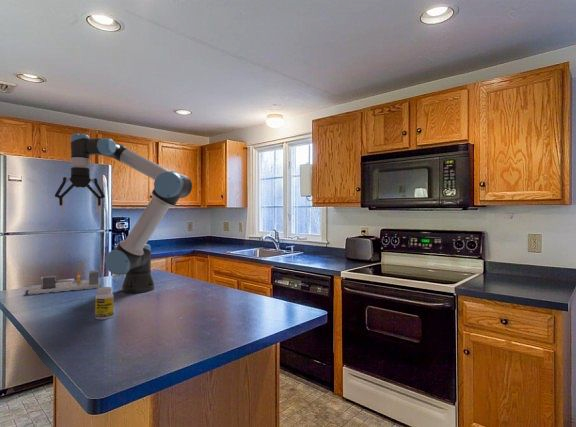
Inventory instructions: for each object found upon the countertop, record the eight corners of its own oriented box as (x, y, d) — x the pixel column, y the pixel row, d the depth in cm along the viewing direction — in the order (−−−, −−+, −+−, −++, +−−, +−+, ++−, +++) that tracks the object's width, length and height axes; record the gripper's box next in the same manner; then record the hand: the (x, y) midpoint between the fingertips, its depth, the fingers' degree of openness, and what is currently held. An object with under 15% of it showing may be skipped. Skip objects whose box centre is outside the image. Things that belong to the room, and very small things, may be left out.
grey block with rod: (74, 281, 185) (74, 272, 185) (74, 285, 177) (74, 275, 177) (42, 284, 178) (42, 274, 178) (40, 288, 170) (40, 278, 169)
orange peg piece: (80, 280, 187) (80, 271, 187) (80, 281, 185) (80, 271, 184) (76, 280, 186) (76, 271, 186) (77, 281, 184) (77, 272, 184)
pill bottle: (94, 320, 129) (94, 290, 129) (95, 316, 134) (95, 287, 134) (113, 318, 132) (113, 289, 131) (113, 314, 137) (113, 285, 137)
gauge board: (98, 283, 192) (98, 268, 192) (100, 287, 181) (100, 272, 181) (30, 289, 176) (30, 273, 176) (28, 295, 165) (28, 278, 165)
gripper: (109, 169, 175) (109, 212, 176) (48, 166, 162) (49, 212, 163) (110, 168, 169) (110, 212, 169) (47, 164, 156) (48, 212, 156)
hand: (80, 212), depth 166 cm, fingers open, 13 cm apart
